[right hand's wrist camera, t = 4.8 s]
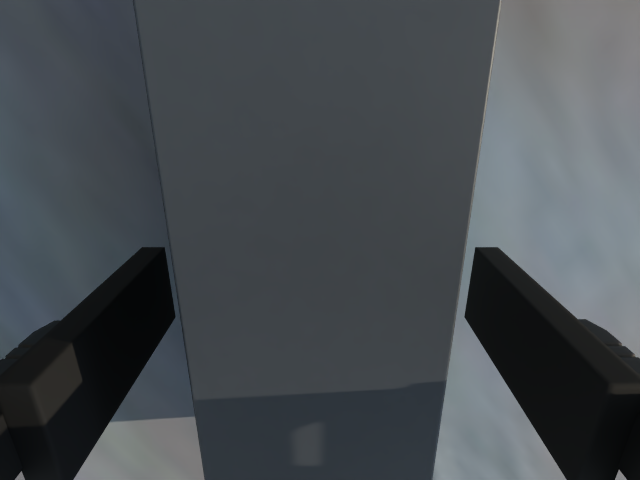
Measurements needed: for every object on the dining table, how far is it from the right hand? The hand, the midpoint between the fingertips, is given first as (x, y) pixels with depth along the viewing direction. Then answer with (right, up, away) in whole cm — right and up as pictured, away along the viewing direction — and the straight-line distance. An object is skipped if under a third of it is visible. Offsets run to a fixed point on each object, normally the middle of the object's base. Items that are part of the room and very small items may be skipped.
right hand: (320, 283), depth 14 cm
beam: (0, +29, -9) cm, 30 cm away
